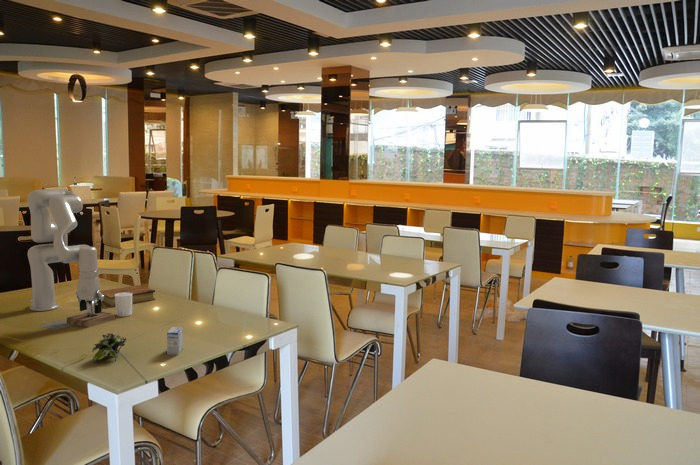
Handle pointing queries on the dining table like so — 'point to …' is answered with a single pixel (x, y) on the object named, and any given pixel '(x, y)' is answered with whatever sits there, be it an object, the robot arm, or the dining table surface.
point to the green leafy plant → (108, 346)
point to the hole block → (90, 319)
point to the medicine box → (174, 340)
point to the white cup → (123, 304)
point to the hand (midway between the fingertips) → (90, 311)
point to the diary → (138, 292)
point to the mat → (56, 325)
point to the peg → (90, 308)
